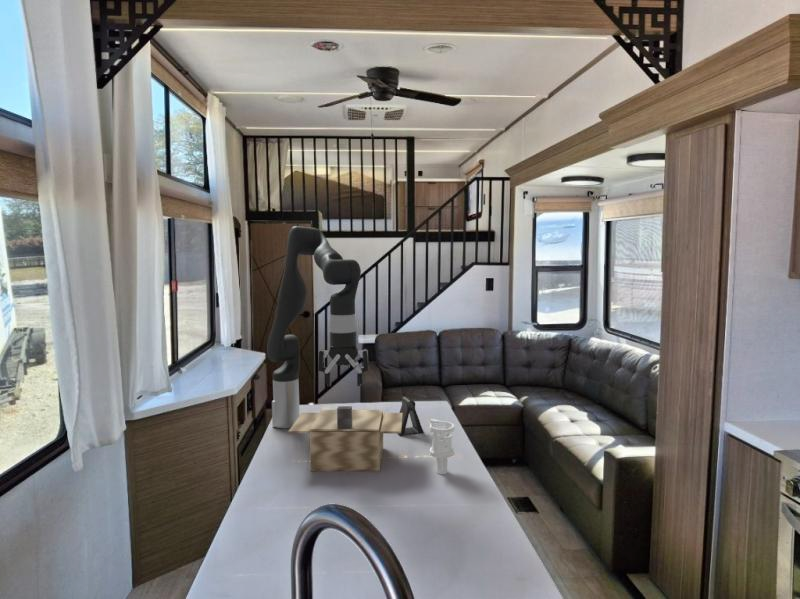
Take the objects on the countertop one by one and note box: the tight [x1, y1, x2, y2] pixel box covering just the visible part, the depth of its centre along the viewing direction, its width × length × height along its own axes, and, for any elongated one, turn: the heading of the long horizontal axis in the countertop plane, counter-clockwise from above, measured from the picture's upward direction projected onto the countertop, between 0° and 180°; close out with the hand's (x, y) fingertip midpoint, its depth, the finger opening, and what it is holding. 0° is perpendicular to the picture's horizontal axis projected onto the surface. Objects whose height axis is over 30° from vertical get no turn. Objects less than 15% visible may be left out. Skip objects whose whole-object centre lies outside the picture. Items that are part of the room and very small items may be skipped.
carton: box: [288, 412, 403, 473], centre depth 156 cm, size 33×18×12 cm, turn 88°
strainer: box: [429, 418, 455, 475], centre depth 147 cm, size 7×7×15 cm
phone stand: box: [396, 395, 424, 437], centre depth 180 cm, size 9×6×12 cm, turn 108°
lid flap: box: [310, 405, 384, 431], centre depth 156 cm, size 20×18×7 cm
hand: (344, 385), depth 147 cm, fingers open, 8 cm apart
